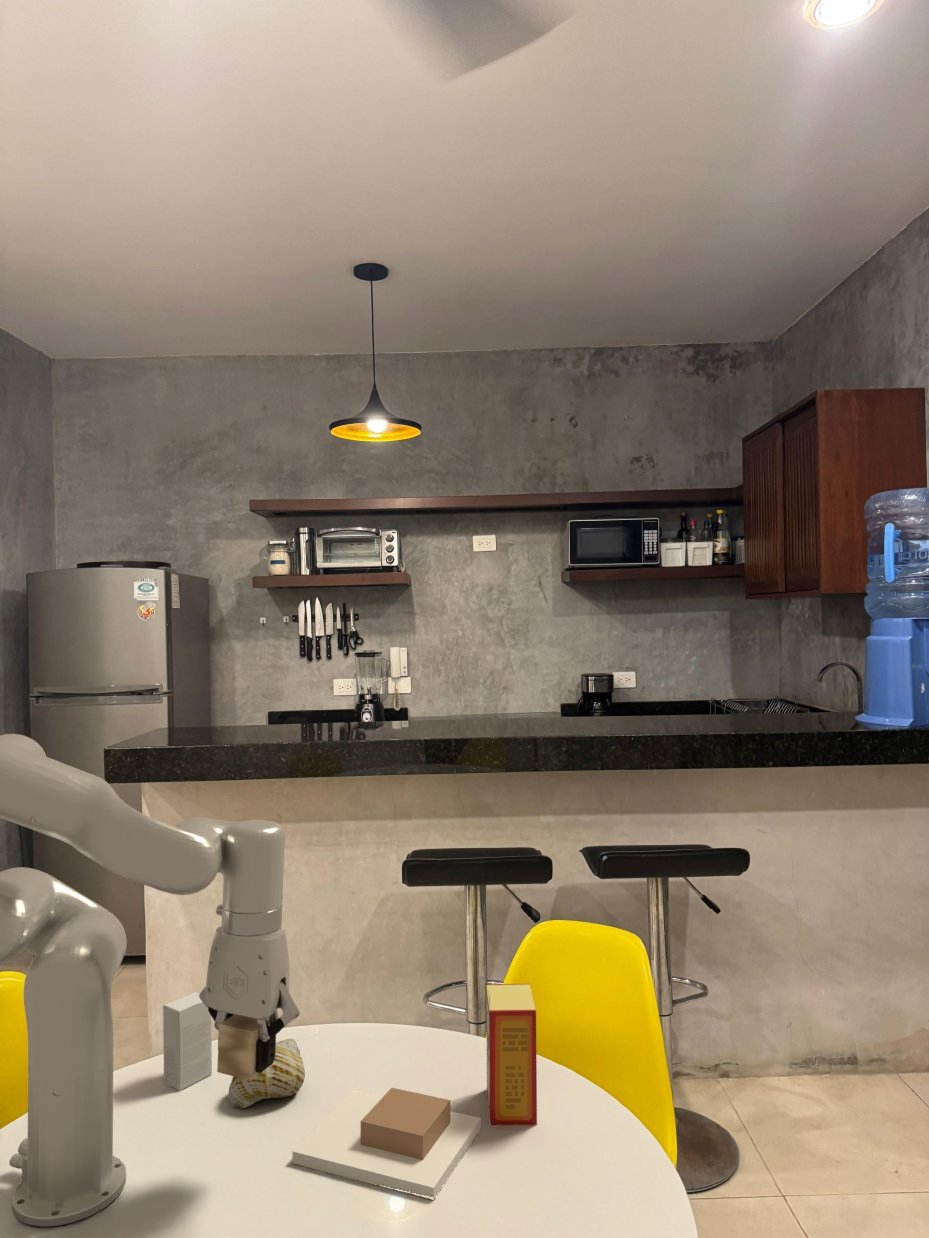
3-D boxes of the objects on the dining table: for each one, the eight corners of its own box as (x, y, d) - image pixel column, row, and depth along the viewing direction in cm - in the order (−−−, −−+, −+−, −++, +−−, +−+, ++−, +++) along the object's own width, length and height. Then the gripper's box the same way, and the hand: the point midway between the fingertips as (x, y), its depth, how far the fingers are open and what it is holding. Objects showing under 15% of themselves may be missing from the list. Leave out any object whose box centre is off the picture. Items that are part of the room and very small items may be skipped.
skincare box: (195, 1067, 133) (195, 990, 134) (212, 1075, 131) (212, 997, 131) (161, 1083, 128) (162, 1004, 129) (178, 1092, 126) (179, 1011, 126)
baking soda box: (486, 1089, 126) (486, 981, 127) (530, 1088, 126) (529, 981, 127) (490, 1125, 117) (489, 1008, 117) (536, 1124, 117) (536, 1008, 117)
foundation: (292, 1163, 109) (292, 1127, 109) (353, 1100, 123) (353, 1069, 123) (433, 1200, 101) (433, 1162, 101) (481, 1129, 116) (480, 1095, 116)
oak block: (217, 1071, 106) (219, 1023, 106) (241, 1054, 111) (243, 1008, 111) (250, 1080, 104) (252, 1031, 104) (273, 1062, 109) (275, 1015, 109)
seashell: (211, 1103, 122) (232, 1027, 126) (253, 1105, 129) (271, 1034, 134) (266, 1117, 117) (285, 1038, 122) (306, 1119, 124) (323, 1044, 129)
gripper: (179, 917, 108) (172, 1061, 107) (291, 938, 102) (285, 1092, 101) (216, 902, 115) (210, 1037, 114) (324, 920, 108) (318, 1064, 108)
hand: (245, 1061), depth 107 cm, fingers closed on oak block, 5 cm apart
